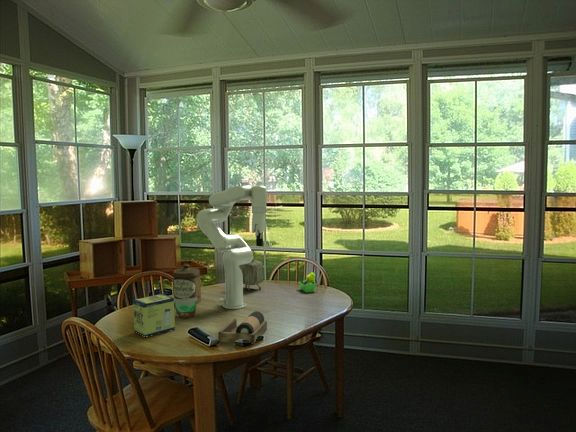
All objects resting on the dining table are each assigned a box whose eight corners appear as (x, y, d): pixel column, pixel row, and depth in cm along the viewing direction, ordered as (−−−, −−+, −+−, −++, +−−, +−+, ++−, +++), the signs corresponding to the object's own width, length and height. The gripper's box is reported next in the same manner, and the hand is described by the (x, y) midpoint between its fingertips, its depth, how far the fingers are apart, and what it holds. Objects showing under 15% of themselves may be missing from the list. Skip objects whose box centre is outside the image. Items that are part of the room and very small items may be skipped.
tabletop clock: (264, 289, 298) (263, 249, 296) (255, 292, 291) (254, 251, 288) (245, 286, 306) (244, 247, 304) (236, 289, 298) (235, 250, 296)
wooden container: (169, 305, 265) (168, 265, 263) (181, 298, 279) (180, 261, 277) (194, 306, 261) (193, 266, 259) (205, 299, 276) (204, 261, 274)
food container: (174, 320, 237) (173, 300, 236) (173, 316, 243) (173, 297, 242) (199, 318, 240) (198, 298, 239) (198, 314, 246) (197, 295, 245)
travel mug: (261, 308, 223) (248, 321, 203) (267, 323, 223) (255, 338, 203) (247, 313, 225) (232, 326, 205) (252, 328, 225) (239, 343, 205)
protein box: (133, 333, 219) (132, 299, 217) (164, 325, 229) (162, 293, 228) (144, 338, 211) (143, 304, 210) (175, 330, 222) (174, 297, 221)
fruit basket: (298, 289, 298) (298, 271, 297) (311, 287, 301) (311, 270, 300) (304, 293, 287) (304, 274, 286) (318, 292, 290) (318, 273, 289)
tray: (218, 341, 206) (218, 332, 205) (234, 327, 225) (234, 318, 225) (254, 344, 202) (253, 335, 202) (266, 329, 221) (266, 320, 221)
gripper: (256, 209, 250) (256, 243, 252) (247, 211, 236) (248, 248, 237) (270, 209, 249) (270, 244, 250) (262, 211, 234) (262, 248, 236)
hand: (259, 246), depth 244 cm, fingers closed
